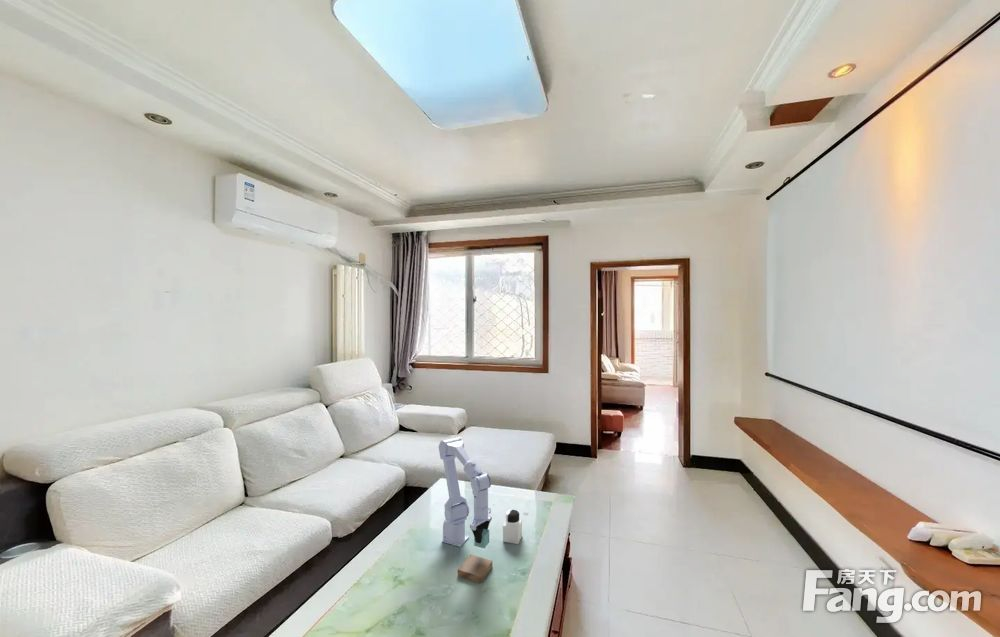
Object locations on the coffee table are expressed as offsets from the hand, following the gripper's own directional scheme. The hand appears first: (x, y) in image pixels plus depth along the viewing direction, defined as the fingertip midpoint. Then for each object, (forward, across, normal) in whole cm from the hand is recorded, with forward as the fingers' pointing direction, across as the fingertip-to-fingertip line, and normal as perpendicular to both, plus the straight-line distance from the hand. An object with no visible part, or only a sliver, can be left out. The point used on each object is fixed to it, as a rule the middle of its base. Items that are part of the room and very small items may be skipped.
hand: (481, 539), depth 153 cm
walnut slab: (+10, -6, 0) cm, 12 cm away
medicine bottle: (+10, +20, -6) cm, 23 cm away
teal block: (+2, 0, 0) cm, 2 cm away
